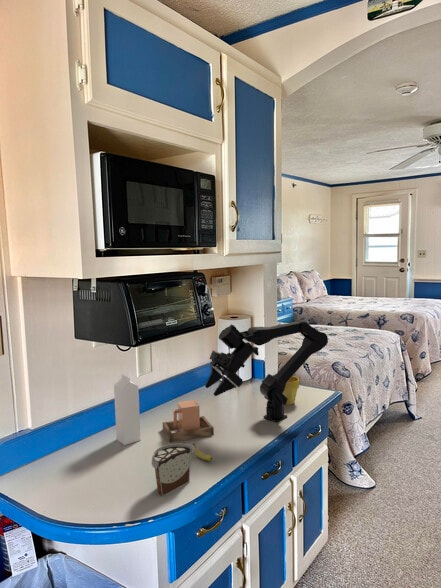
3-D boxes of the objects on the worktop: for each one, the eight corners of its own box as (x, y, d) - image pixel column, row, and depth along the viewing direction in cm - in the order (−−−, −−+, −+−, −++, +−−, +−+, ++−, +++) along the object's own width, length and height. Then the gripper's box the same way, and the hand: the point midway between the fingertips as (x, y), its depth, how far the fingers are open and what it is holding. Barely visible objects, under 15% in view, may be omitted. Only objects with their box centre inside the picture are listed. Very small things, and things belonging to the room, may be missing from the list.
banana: (191, 456, 134) (191, 443, 133) (195, 454, 135) (195, 441, 134) (210, 464, 128) (210, 451, 128) (214, 462, 129) (214, 449, 129)
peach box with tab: (195, 427, 155) (194, 399, 154) (200, 433, 149) (199, 405, 148) (172, 430, 152) (171, 403, 151) (176, 437, 147) (175, 409, 145)
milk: (124, 445, 142) (120, 379, 139) (116, 439, 146) (112, 375, 144) (141, 440, 145) (138, 375, 143) (133, 434, 150) (129, 371, 147)
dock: (204, 422, 159) (203, 416, 158) (213, 434, 148) (213, 427, 148) (162, 429, 154) (162, 422, 153) (169, 442, 143) (169, 434, 143)
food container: (178, 472, 124) (177, 438, 123) (193, 480, 120) (192, 445, 119) (143, 490, 115) (141, 454, 114) (157, 499, 111) (156, 461, 110)
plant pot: (287, 395, 185) (287, 373, 184) (304, 402, 176) (304, 379, 175) (268, 400, 180) (268, 377, 179) (284, 408, 171) (284, 384, 170)
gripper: (214, 337, 161) (186, 370, 158) (233, 348, 143) (201, 385, 141) (235, 356, 164) (207, 388, 162) (255, 368, 147) (225, 405, 144)
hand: (210, 391), depth 152 cm, fingers open, 9 cm apart
